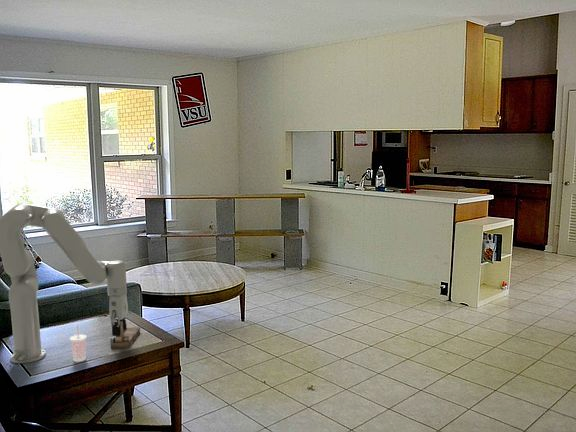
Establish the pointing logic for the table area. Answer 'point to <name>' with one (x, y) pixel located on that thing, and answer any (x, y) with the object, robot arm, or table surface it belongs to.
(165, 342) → the table surface
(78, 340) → the beverage cup
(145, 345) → the table surface
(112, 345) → the wooden slotted block
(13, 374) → the table surface
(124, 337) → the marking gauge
